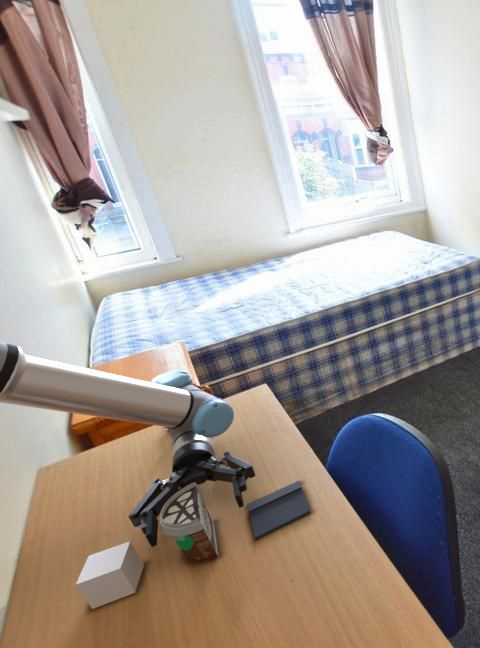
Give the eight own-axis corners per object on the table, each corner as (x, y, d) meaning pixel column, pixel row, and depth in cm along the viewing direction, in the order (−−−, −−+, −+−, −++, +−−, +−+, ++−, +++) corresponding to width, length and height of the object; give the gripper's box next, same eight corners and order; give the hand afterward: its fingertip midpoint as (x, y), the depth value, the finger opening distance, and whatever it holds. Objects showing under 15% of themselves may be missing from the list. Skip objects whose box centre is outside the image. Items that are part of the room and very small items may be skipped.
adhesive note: (135, 592, 79) (120, 568, 77) (92, 609, 77) (75, 584, 75) (144, 564, 84) (130, 540, 82) (104, 579, 82) (88, 555, 80)
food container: (177, 535, 90) (156, 496, 86) (213, 518, 93) (194, 480, 89) (178, 582, 80) (155, 540, 76) (218, 561, 83) (198, 520, 79)
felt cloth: (255, 540, 87) (253, 535, 87) (248, 507, 95) (247, 503, 94) (310, 512, 92) (309, 508, 92) (300, 483, 100) (298, 479, 99)
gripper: (262, 445, 107) (277, 501, 91) (130, 498, 95) (119, 574, 79) (252, 418, 104) (266, 471, 88) (114, 470, 92) (100, 542, 76)
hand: (197, 520), depth 83 cm, fingers open, 13 cm apart
